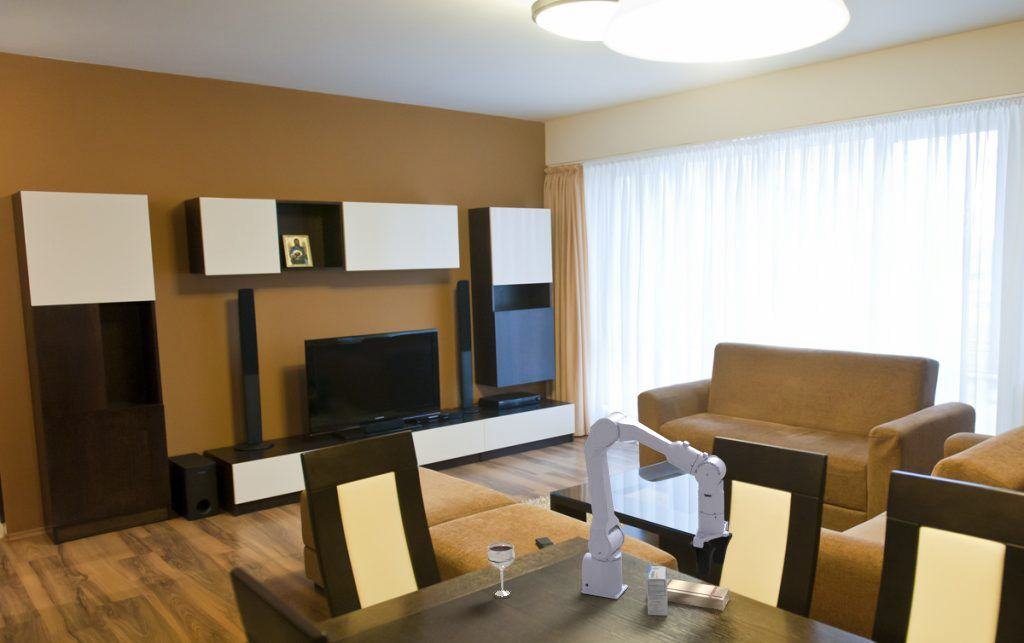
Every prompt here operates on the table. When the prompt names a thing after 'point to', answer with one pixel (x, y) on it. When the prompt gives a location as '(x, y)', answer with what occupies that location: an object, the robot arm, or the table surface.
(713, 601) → the cream striped flat box
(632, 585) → the table surface
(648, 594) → the medicine box
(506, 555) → the wineglass
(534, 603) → the table surface
